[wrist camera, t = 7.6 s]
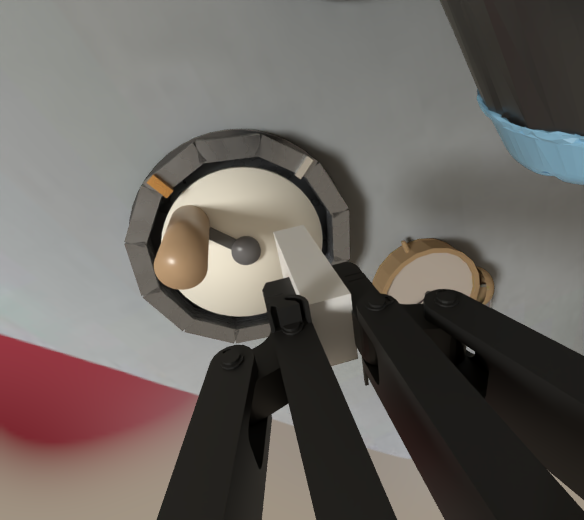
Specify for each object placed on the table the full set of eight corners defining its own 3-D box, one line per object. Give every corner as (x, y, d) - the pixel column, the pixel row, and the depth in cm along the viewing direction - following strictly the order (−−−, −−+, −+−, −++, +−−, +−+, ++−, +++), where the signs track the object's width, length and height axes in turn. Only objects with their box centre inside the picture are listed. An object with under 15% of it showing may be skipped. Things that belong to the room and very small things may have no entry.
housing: (263, 76, 27) (270, 73, 24) (375, 250, 36) (391, 265, 33) (79, 225, 29) (62, 240, 26) (229, 355, 38) (230, 379, 35)
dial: (347, 213, 32) (394, 253, 24) (273, 329, 36) (290, 398, 28) (207, 132, 27) (203, 146, 18) (136, 278, 31) (107, 345, 22)
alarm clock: (419, 228, 33) (531, 291, 36) (401, 217, 38) (502, 273, 41) (358, 318, 36) (466, 369, 39) (348, 297, 41) (446, 345, 44)
